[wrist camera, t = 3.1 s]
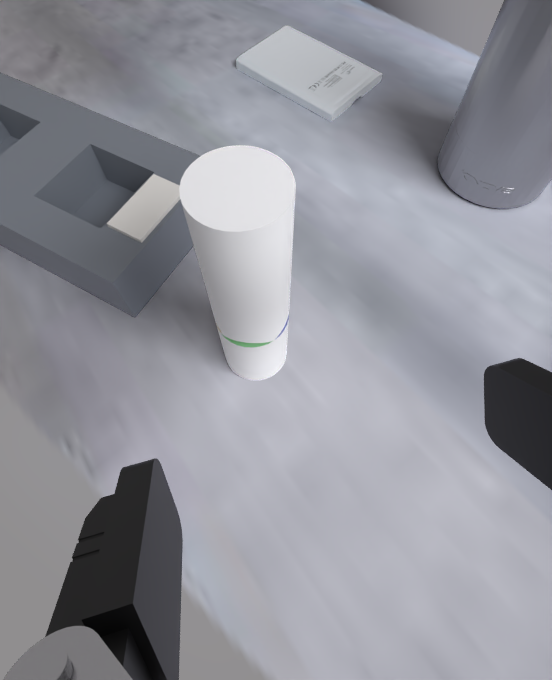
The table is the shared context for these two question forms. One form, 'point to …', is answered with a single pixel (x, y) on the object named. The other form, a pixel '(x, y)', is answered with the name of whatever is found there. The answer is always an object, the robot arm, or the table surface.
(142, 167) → the socket block
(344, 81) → the external hard drive
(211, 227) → the tube
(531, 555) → the table surface
